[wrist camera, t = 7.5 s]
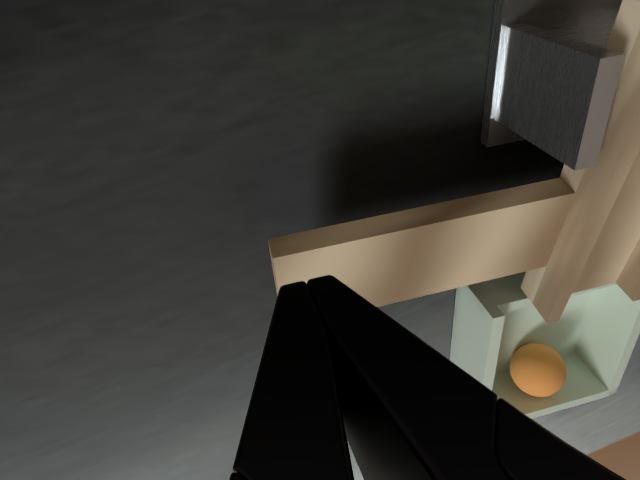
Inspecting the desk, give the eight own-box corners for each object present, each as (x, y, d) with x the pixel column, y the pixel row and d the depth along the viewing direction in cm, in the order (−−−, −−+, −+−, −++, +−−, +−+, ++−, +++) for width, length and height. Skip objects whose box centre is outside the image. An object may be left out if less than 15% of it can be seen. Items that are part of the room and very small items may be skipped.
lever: (883, -365, 12) (1169, -421, 8) (596, 242, 25) (662, 310, 22) (164, -343, 9) (174, -412, 6) (278, 317, 23) (300, 405, 20)
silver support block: (683, -38, 19) (840, -23, 15) (640, 111, 23) (756, 160, 18) (496, -11, 18) (604, 14, 13) (480, 141, 21) (562, 203, 17)
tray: (610, 237, 27) (662, 275, 24) (576, 351, 32) (615, 394, 29) (457, 273, 25) (493, 318, 23) (447, 386, 31) (475, 434, 28)
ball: (548, 379, 30) (541, 332, 30) (582, 397, 27) (574, 345, 27) (503, 391, 30) (496, 343, 29) (533, 411, 27) (524, 359, 27)
